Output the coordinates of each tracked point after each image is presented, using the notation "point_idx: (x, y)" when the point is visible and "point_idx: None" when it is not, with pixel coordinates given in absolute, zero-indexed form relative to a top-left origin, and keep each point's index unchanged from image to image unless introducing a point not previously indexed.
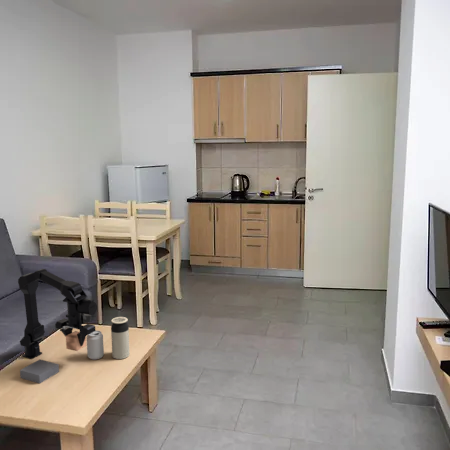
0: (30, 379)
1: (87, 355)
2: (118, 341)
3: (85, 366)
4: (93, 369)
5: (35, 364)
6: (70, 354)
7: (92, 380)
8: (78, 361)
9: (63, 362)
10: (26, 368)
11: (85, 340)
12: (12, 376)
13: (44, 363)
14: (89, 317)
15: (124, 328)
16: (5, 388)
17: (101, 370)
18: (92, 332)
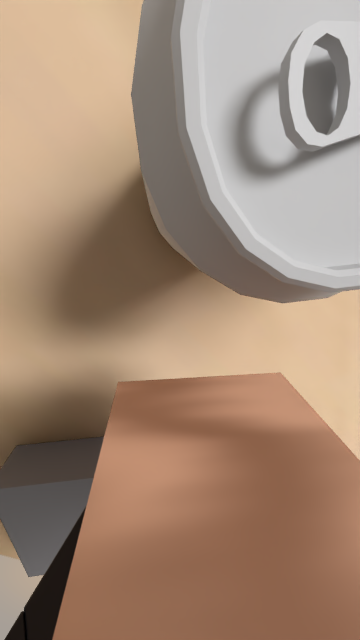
0: None
1: (173, 248)
2: None
3: (234, 336)
4: (296, 340)
5: (34, 526)
6: (10, 259)
7: (344, 410)
8: (151, 311)
9: (79, 361)
10: (38, 560)
11: (327, 437)
12: (3, 535)
13: (66, 500)
14: None
15: None
16: None
17: (343, 328)
18: (304, 51)
